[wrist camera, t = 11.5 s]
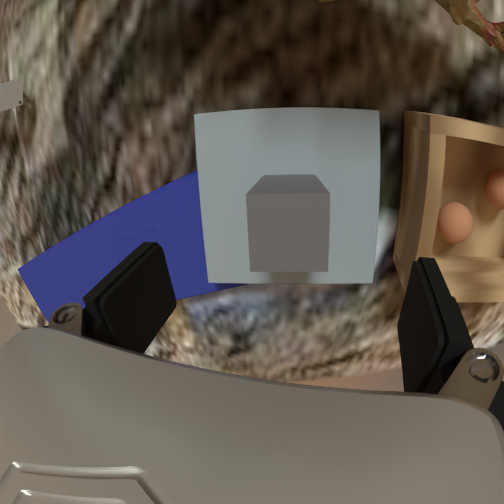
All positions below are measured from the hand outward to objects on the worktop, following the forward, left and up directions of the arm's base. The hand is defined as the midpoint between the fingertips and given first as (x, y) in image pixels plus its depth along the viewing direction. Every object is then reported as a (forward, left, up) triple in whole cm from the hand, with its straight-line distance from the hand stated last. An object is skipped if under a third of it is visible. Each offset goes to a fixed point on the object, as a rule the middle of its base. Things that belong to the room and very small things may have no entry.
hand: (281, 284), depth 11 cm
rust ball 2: (-15, -1, -11) cm, 19 cm away
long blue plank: (+22, +9, -13) cm, 27 cm away
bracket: (+39, -14, -14) cm, 44 cm away
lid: (+1, +1, -11) cm, 11 cm away
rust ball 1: (-11, +2, -11) cm, 16 cm away
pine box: (-13, 0, -13) cm, 19 cm away
